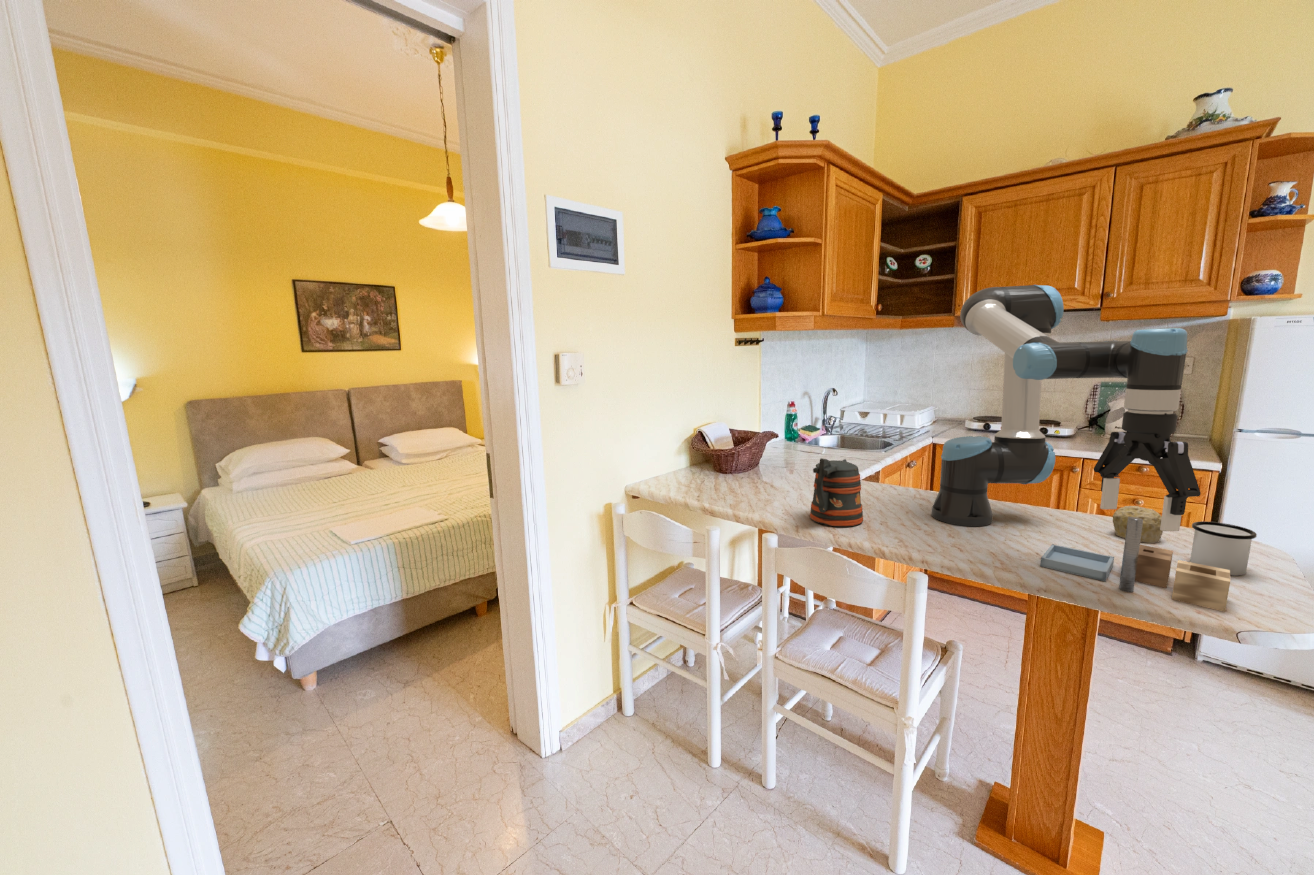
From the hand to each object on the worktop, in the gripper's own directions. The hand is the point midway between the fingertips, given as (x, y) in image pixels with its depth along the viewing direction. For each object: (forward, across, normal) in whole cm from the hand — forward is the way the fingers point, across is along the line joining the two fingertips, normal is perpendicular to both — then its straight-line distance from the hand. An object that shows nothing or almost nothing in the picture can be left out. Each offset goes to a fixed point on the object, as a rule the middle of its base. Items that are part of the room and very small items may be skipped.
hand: (1136, 519), depth 101 cm
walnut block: (+15, +6, -8) cm, 18 cm away
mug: (+15, +12, -28) cm, 34 cm away
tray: (+15, +12, +1) cm, 19 cm away
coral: (+15, +29, -26) cm, 42 cm away
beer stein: (+15, +44, +46) cm, 65 cm away
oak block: (+15, -3, -10) cm, 19 cm away
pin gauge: (+15, 0, 0) cm, 15 cm away
